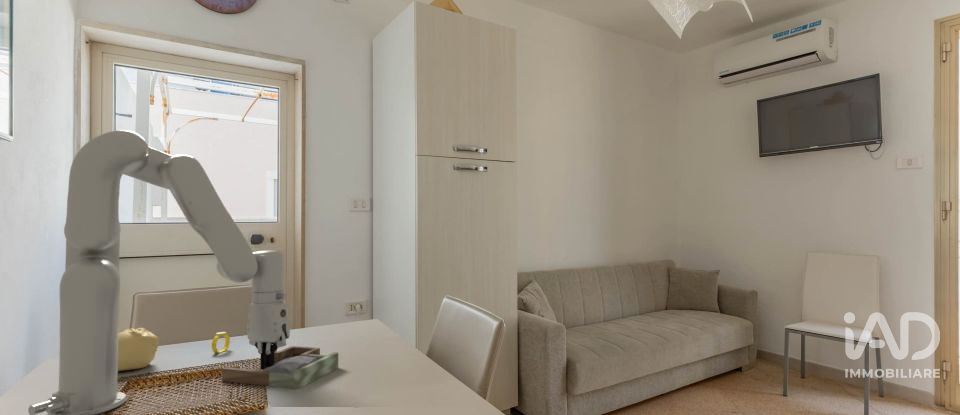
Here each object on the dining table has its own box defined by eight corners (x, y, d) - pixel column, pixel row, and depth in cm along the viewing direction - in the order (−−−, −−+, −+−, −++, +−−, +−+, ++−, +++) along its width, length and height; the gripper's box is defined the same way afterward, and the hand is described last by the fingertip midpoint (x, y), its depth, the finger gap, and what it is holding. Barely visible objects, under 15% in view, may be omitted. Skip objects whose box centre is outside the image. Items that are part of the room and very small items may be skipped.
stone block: (259, 389, 112) (296, 382, 111) (257, 369, 113) (293, 362, 111) (287, 375, 124) (321, 369, 123) (284, 357, 125) (318, 351, 123)
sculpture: (165, 366, 126) (165, 326, 126) (111, 378, 116) (112, 335, 116) (147, 359, 132) (148, 322, 133) (95, 370, 122) (96, 330, 123)
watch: (223, 350, 142) (224, 330, 143) (231, 350, 142) (232, 331, 142) (208, 354, 136) (210, 334, 137) (217, 354, 136) (218, 334, 136)
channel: (298, 388, 107) (298, 371, 107) (221, 380, 113) (222, 364, 113) (350, 361, 128) (350, 346, 128) (284, 355, 134) (284, 342, 134)
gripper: (301, 296, 121) (301, 366, 121) (255, 294, 125) (254, 362, 125) (282, 300, 114) (281, 375, 113) (233, 298, 118) (232, 370, 117)
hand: (267, 368), depth 119 cm, fingers closed
